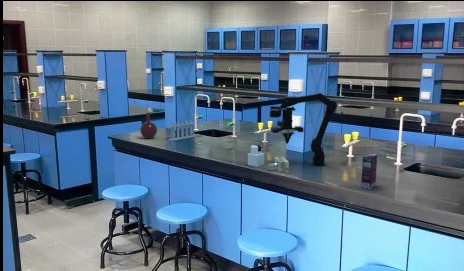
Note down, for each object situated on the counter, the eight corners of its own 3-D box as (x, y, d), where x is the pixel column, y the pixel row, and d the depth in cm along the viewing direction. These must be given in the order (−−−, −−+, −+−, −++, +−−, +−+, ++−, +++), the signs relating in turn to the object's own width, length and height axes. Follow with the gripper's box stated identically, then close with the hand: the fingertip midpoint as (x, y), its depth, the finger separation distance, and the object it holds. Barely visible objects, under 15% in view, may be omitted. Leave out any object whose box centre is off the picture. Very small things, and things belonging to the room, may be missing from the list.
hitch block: (282, 166, 242) (282, 156, 241) (288, 172, 231) (288, 162, 230) (274, 167, 242) (274, 157, 241) (279, 172, 230) (280, 162, 229)
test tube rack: (171, 140, 320) (171, 123, 318) (168, 140, 323) (167, 123, 321) (196, 136, 337) (196, 120, 335) (192, 135, 341) (192, 119, 338)
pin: (287, 167, 239) (287, 159, 238) (289, 169, 235) (289, 161, 234) (267, 168, 237) (267, 160, 236) (269, 170, 233) (269, 162, 232)
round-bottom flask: (151, 136, 339) (150, 111, 335) (160, 138, 329) (159, 113, 325) (137, 138, 330) (136, 113, 326) (146, 140, 320) (145, 114, 317)
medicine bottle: (254, 162, 252) (254, 143, 250) (264, 164, 248) (264, 145, 245) (247, 165, 247) (247, 145, 244) (257, 167, 242) (257, 147, 240)
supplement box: (366, 183, 210) (368, 152, 207) (375, 185, 208) (377, 154, 205) (360, 187, 203) (362, 156, 200) (370, 189, 201) (372, 157, 198)
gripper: (298, 115, 255) (297, 140, 258) (268, 116, 252) (268, 141, 255) (304, 118, 244) (303, 144, 247) (273, 119, 241) (272, 145, 244)
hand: (286, 143), depth 249 cm, fingers closed
